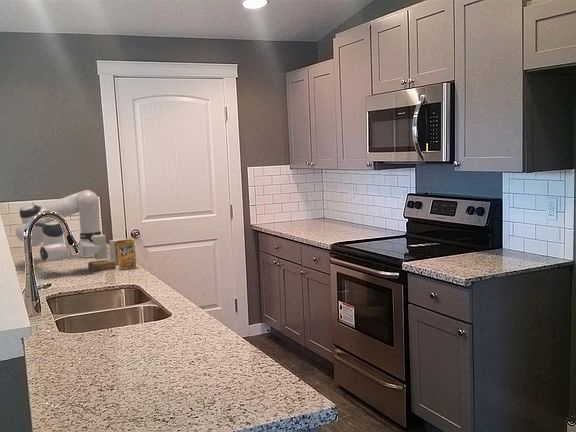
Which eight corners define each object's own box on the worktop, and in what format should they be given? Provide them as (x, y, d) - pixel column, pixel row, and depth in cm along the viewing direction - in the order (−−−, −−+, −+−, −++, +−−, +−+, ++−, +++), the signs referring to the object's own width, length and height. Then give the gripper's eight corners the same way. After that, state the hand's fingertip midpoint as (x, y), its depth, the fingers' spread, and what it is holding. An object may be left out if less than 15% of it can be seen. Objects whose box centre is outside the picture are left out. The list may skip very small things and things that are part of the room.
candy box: (119, 270, 304) (116, 240, 302) (118, 268, 308) (116, 239, 306) (136, 268, 307) (134, 239, 305) (136, 266, 311) (134, 238, 309)
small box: (116, 265, 318) (114, 241, 317) (110, 263, 323) (108, 240, 321) (129, 262, 324) (128, 239, 322) (124, 261, 328) (122, 238, 327)
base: (88, 269, 310) (87, 261, 309) (108, 266, 316) (108, 258, 316) (95, 271, 302) (94, 264, 302) (115, 268, 309) (115, 260, 308)
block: (94, 258, 309) (92, 235, 307) (104, 257, 312) (102, 234, 310) (97, 259, 305) (95, 236, 304) (107, 258, 308) (105, 235, 307)
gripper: (69, 253, 309) (95, 249, 317) (81, 257, 292) (109, 253, 301) (68, 241, 308) (94, 238, 316) (80, 245, 292) (108, 241, 300)
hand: (101, 245), depth 308 cm, fingers closed on block, 4 cm apart
